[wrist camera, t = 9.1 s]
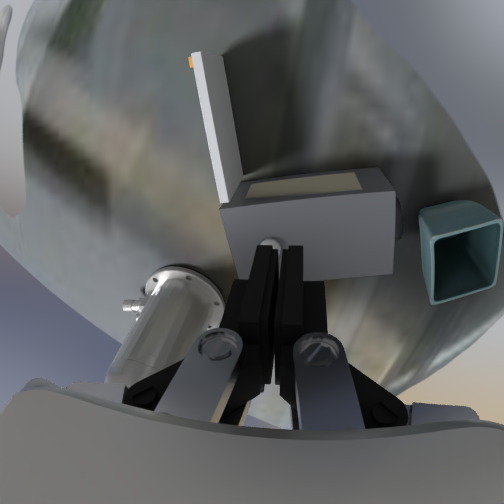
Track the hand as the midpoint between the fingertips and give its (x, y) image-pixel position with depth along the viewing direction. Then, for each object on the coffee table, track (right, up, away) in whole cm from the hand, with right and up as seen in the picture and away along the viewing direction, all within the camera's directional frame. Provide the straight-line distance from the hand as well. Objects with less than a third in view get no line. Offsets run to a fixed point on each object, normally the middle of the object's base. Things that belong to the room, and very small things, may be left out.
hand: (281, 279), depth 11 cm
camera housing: (+6, +6, +22) cm, 24 cm away
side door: (-4, +15, +18) cm, 24 cm away
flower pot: (+22, +5, +20) cm, 30 cm away
